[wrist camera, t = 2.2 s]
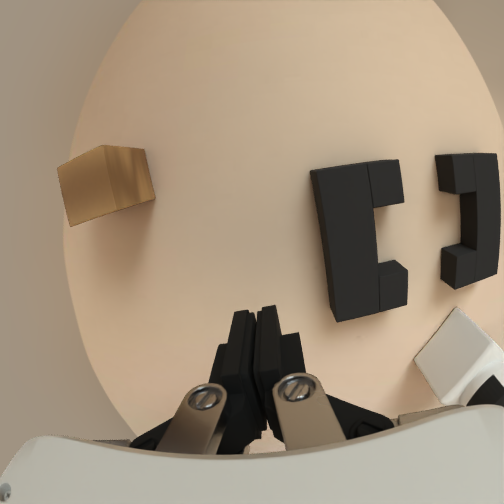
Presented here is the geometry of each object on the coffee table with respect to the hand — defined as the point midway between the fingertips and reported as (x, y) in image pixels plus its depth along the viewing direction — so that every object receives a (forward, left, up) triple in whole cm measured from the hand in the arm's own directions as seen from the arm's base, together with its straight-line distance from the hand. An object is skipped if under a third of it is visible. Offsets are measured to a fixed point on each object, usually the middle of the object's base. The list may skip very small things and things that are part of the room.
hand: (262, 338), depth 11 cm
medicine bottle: (+14, +18, -11) cm, 25 cm away
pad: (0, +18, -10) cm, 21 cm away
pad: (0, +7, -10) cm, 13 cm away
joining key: (-8, -9, -10) cm, 16 cm away
